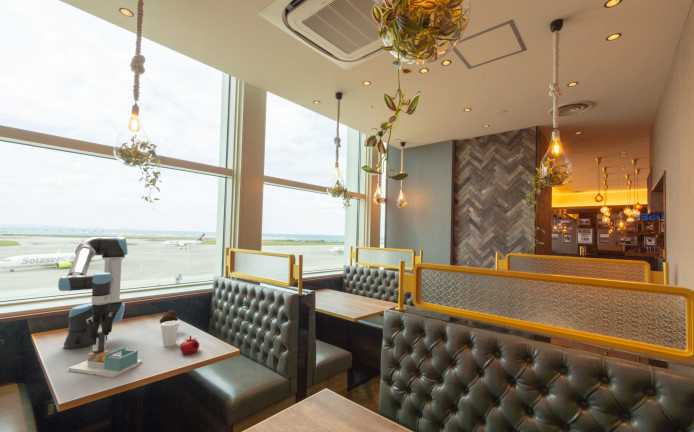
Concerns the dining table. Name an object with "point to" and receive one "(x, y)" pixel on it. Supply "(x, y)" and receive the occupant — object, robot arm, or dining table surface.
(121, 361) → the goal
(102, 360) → the ball
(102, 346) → the block
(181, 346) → the pomegranate
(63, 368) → the dining table surface
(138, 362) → the board
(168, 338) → the foam cup
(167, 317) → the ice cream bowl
